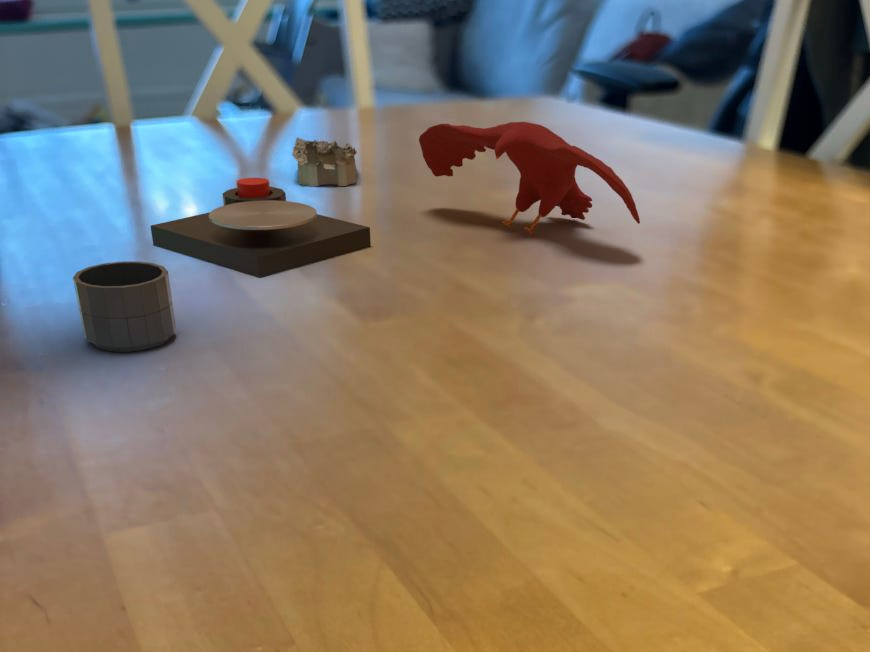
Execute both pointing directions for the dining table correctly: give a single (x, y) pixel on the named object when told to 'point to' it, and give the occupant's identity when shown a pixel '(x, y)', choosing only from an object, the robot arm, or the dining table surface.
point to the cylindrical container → (125, 305)
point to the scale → (260, 240)
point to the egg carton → (324, 163)
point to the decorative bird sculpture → (524, 164)
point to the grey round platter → (262, 215)
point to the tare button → (253, 187)
